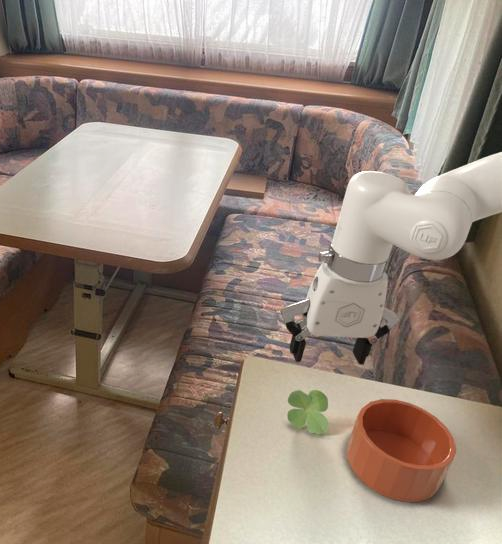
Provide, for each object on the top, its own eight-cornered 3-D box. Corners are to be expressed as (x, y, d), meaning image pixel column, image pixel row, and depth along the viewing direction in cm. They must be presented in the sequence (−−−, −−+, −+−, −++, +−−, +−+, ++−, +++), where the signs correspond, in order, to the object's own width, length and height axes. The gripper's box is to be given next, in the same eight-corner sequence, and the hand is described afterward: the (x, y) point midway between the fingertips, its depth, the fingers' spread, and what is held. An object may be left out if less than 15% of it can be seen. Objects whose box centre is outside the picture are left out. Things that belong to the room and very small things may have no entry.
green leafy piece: (301, 434, 98) (306, 445, 92) (273, 395, 99) (275, 403, 93) (336, 411, 97) (343, 420, 91) (307, 371, 98) (312, 378, 92)
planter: (416, 431, 93) (430, 400, 90) (456, 503, 82) (474, 470, 78) (335, 429, 93) (345, 397, 89) (364, 501, 82) (377, 468, 78)
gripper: (300, 273, 76) (276, 371, 85) (429, 279, 76) (391, 376, 85) (287, 245, 82) (266, 339, 91) (406, 251, 83) (373, 344, 92)
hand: (326, 357), depth 88 cm, fingers open, 9 cm apart
